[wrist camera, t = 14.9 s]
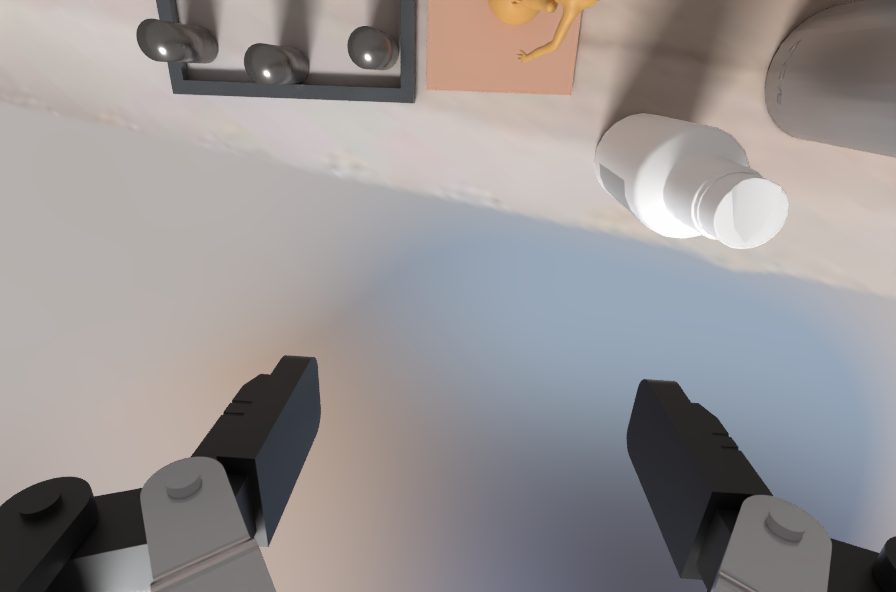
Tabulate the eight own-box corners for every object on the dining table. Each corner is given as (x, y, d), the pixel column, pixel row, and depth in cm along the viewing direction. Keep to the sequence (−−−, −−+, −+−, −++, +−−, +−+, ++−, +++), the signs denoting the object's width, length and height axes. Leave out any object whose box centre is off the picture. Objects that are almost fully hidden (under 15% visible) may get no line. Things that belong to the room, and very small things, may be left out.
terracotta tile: (593, -99, 33) (596, -102, 32) (569, 94, 38) (571, 94, 37) (430, -103, 33) (429, -107, 32) (427, 89, 38) (426, 89, 37)
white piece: (589, 200, 41) (666, 282, 25) (596, 114, 38) (689, 142, 22) (672, 198, 41) (807, 280, 24) (686, 111, 38) (848, 137, 21)
